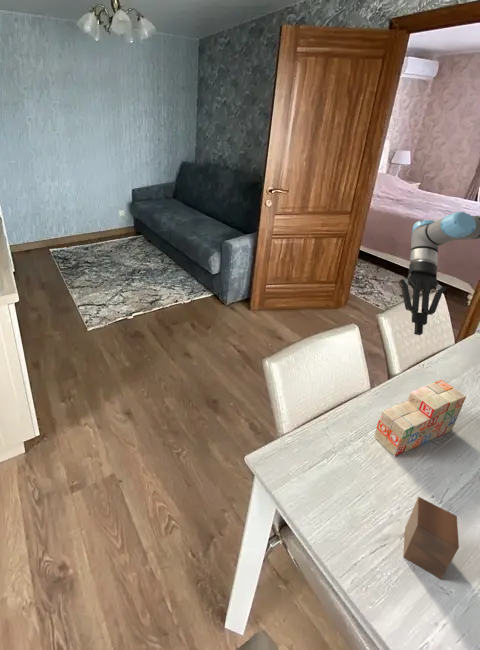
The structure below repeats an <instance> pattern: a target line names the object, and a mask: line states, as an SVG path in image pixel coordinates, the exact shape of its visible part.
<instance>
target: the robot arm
mask: <svg viewBox="0 0 480 650" xmlns="http://www.w3.org/2000/svg"><path fill="white" fill-rule="evenodd" d="M410 235H411V239H410V240H411V242H410V254H409V266H408V275H407V277H406V278H404V279H403V278H401V279H400V280H399V281H398V285H399V288H401V293H402V298H403V303H404V308H405V310H406V311H409V312H410V313H411V323H412V324H414V329H413V330H414V331H413V335H416V336H422V335H423V333H424V332H423V331H424V326H426V325H427V324H428V316H429V315H430V316H432V315H433V314H435V313H436V311H437V309H438V306H439V303H440V300H441V298H442V295H443V294H444V292H446V290H447V287H446V286H442V285H440V284H439V281H438V277H437V275H438V260H439V259H438V255H439V247H440V246H441V245H444V244H448V243H449V242H453V241H465V240H480V215H471V214H470V213H466V212H465V211H457V212H453V213H449V214H448V215H445V216H444V217H442V218H440V219H438V220H436V221H435V220H431V219H423V220H418V221H416V222H415V223H414V224H413V226H412V231H411V233H410ZM409 286H410V287H411V289H412V299H411V295H410V290H409ZM434 288H435V290H434V291H435V293H434V295H433V298H432V301H431V303H430V293H431V291H432V290H433V289H434ZM420 294H421V310H420V312H419V308H420ZM429 305H430V307H429Z"/></svg>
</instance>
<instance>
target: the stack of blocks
mask: <svg viewBox="0 0 480 650" xmlns="http://www.w3.org/2000/svg"><path fill="white" fill-rule="evenodd" d="M466 398H467V396H466V395H465V394H463V393H462V392H461V391H459V390H458V389H456V388H454V387H453V386H451V385H450V384H449V383H447V382H445V381H444V380H443V379H440V380H437V381H434V382H431V383H430V384H427V385H423V386H421V387H419V388H416V389H414V390H412V391H410V393H409V395H408V398H407V400H406V401H404V402H401V403H398V404H395V405H393V406H391V407H389V408H386V409H384V410H382V411H381V414H380V418H379V419H378V422H377V425H376V429H375V431H374V434H373V437H374V438H375V439H376V440H377V441H378V442H379V443H380V444H381V445H382V446H383V447H384V448H385V449H386V450H387V451H388V452H389V453H390V454H391V455H392V456H394V457H396V456H399V455H400V454H402V453H407V452H408V451H411V450H413V449H415V448H416V447H419V446H421V445H423V444H425V443H427V442H429V441H432V440H433V439H437V438H439V437H441V436H444V435H446V434H448V433H450V432H452V431H453V429H454V426H455V424H456V422H457V419H458V416H459V414H460V412H461V411H462V408H463V405H464V403H465V400H466Z"/></svg>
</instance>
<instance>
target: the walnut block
mask: <svg viewBox="0 0 480 650" xmlns="http://www.w3.org/2000/svg"><path fill="white" fill-rule="evenodd" d="M458 528H459V527H458V516H457V515H456V514H454V513H451V512H449V511H448V510H446V509H443V508H441V507H440V506H438V505H436V504H434V503H432V502H430V501H428V500H426V499H424V498H423V497H420V496H418V497H417V499H416V501H415V504H414V505H413V508H412V510H411V513H410V516H409V518H408V521H407V523H406V525H405V527H404V539H403V540H404V542H403V555H402V556H403V558H404V559H405V560H407V561H409V562H411V563H412V564H414V565H416V566H418V567H419V568H420V569H422V570H424V571H426V572H427V573H430V574H431V575H433V576H434V577H436V578H438V579H439V580H443V578H444V576H445V574H446V572H447V571H448V569H449V567H450V566H451V563H452V561H453V559H454V558H455V556H456V554H457V551H458V550H459V548H460V546H459V545H460V543H459V530H458Z"/></svg>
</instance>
